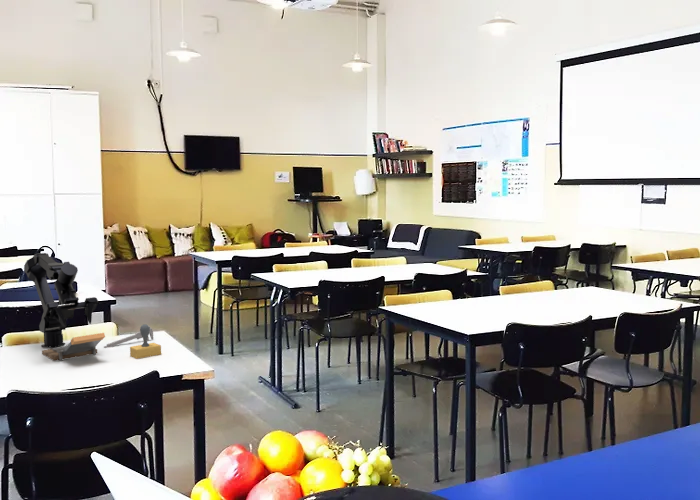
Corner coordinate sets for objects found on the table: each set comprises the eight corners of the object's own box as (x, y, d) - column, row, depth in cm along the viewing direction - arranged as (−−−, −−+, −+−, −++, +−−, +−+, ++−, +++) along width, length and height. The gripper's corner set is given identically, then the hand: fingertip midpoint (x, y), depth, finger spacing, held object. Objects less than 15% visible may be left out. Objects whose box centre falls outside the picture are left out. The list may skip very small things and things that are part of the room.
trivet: (42, 354, 261) (41, 345, 261) (84, 347, 272) (83, 338, 272) (56, 361, 250) (56, 352, 250) (99, 354, 261) (99, 345, 261)
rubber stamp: (136, 359, 254) (135, 327, 253) (130, 356, 258) (128, 324, 257) (161, 354, 261) (160, 323, 259) (154, 351, 265) (153, 321, 264)
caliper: (152, 340, 285) (151, 325, 284) (153, 340, 284) (153, 325, 283) (103, 348, 271) (103, 332, 271) (104, 348, 271) (104, 333, 270)
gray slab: (61, 352, 253) (73, 337, 243) (91, 347, 260) (103, 332, 250) (62, 356, 252) (74, 341, 242) (92, 351, 260) (105, 336, 250)
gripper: (84, 301, 271) (97, 333, 264) (35, 307, 259) (47, 341, 252) (92, 284, 265) (105, 316, 258) (41, 289, 252) (54, 324, 245)
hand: (78, 325), depth 253 cm, fingers open, 9 cm apart
